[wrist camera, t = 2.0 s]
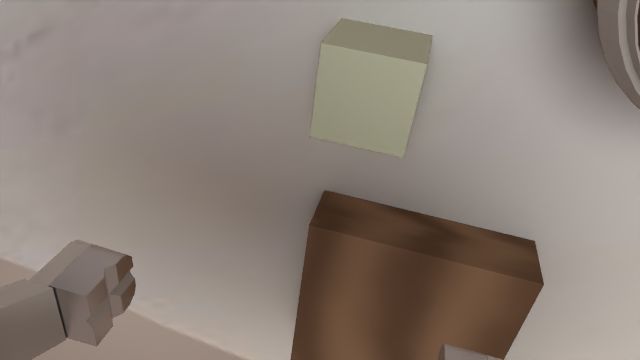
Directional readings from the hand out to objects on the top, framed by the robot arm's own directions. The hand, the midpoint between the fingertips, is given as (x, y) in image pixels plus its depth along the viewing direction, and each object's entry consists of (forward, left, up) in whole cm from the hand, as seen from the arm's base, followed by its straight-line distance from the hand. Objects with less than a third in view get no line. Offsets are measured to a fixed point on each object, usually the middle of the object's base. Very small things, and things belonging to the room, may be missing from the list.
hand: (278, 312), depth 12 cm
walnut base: (+5, -16, -19) cm, 25 cm away
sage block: (0, 0, -19) cm, 19 cm away
